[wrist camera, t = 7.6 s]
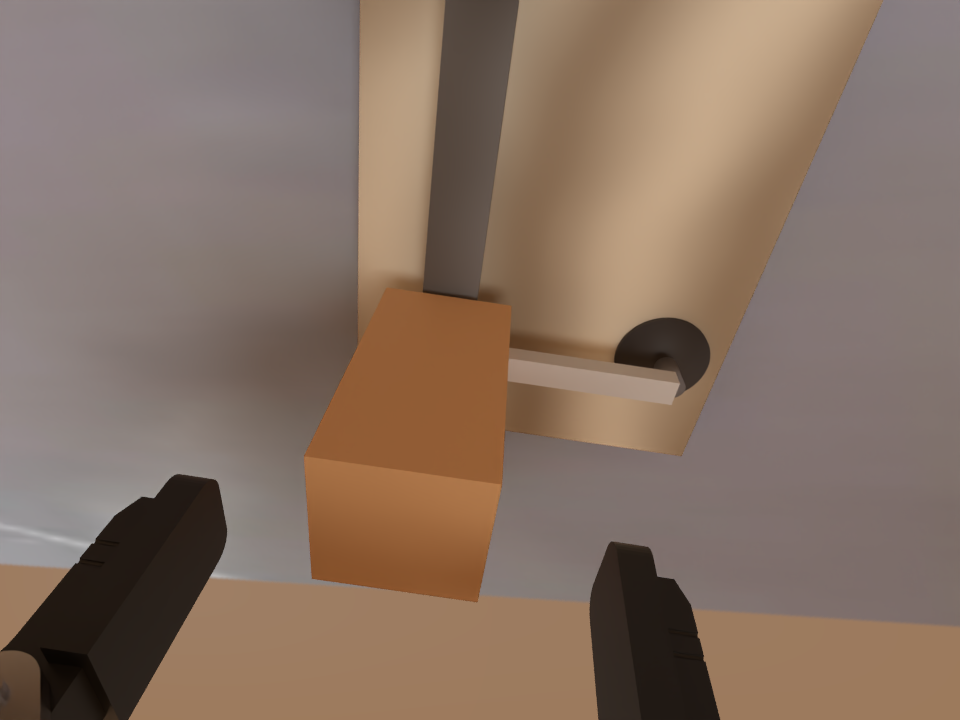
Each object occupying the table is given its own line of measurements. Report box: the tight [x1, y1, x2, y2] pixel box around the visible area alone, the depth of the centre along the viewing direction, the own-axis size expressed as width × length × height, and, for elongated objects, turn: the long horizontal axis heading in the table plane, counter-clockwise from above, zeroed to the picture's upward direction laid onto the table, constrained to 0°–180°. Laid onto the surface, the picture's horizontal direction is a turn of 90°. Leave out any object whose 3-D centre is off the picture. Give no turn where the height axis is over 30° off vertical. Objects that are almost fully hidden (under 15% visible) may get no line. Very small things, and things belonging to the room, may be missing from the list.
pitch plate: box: [358, 0, 883, 456], centre depth 12 cm, size 12×20×10 cm, turn 173°
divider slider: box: [304, 287, 686, 602], centre depth 14 cm, size 9×4×8 cm, turn 83°
